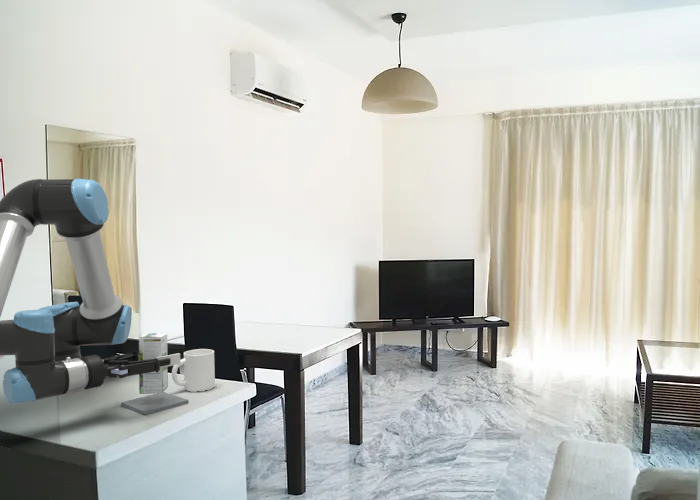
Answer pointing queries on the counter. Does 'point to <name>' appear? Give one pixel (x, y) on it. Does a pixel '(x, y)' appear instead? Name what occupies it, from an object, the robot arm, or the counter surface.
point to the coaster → (154, 403)
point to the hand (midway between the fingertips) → (170, 356)
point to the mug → (196, 370)
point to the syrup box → (150, 349)
